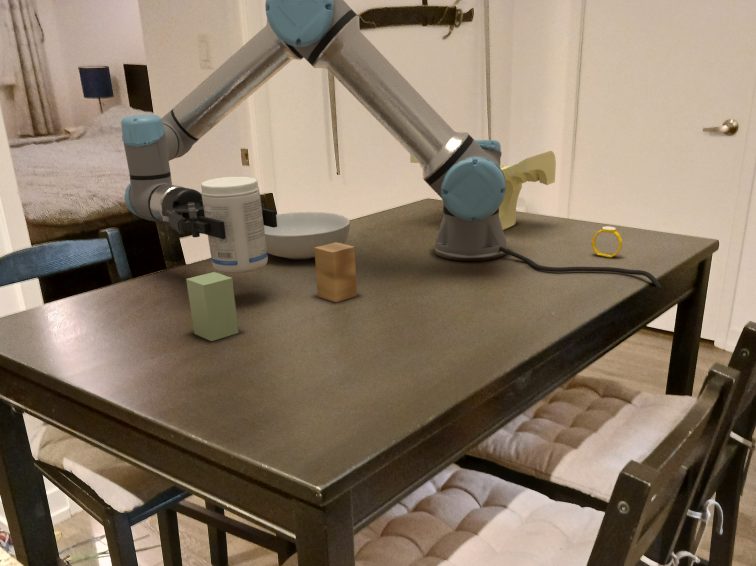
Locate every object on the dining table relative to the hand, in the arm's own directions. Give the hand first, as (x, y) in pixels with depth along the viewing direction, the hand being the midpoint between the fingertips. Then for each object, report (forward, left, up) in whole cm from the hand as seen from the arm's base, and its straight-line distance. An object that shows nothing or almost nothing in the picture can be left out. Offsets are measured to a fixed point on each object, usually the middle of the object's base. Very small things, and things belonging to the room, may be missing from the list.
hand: (249, 224), depth 127 cm
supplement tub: (+4, -2, -8) cm, 9 cm away
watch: (-58, -44, -14) cm, 74 cm away
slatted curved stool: (-28, -67, -14) cm, 74 cm away
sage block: (+1, +14, -14) cm, 20 cm away
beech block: (-12, -7, -14) cm, 20 cm away
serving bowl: (+5, -34, -14) cm, 37 cm away
